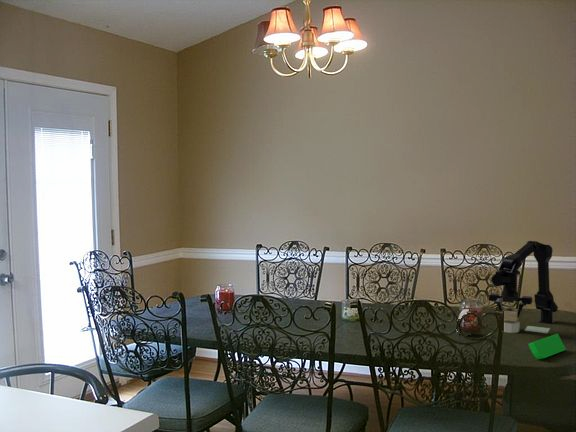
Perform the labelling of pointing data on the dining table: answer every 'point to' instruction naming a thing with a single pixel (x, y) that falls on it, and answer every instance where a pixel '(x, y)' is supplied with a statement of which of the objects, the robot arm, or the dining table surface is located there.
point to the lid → (510, 314)
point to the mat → (537, 329)
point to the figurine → (463, 313)
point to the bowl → (511, 326)
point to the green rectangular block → (547, 346)
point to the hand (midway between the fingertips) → (510, 316)
